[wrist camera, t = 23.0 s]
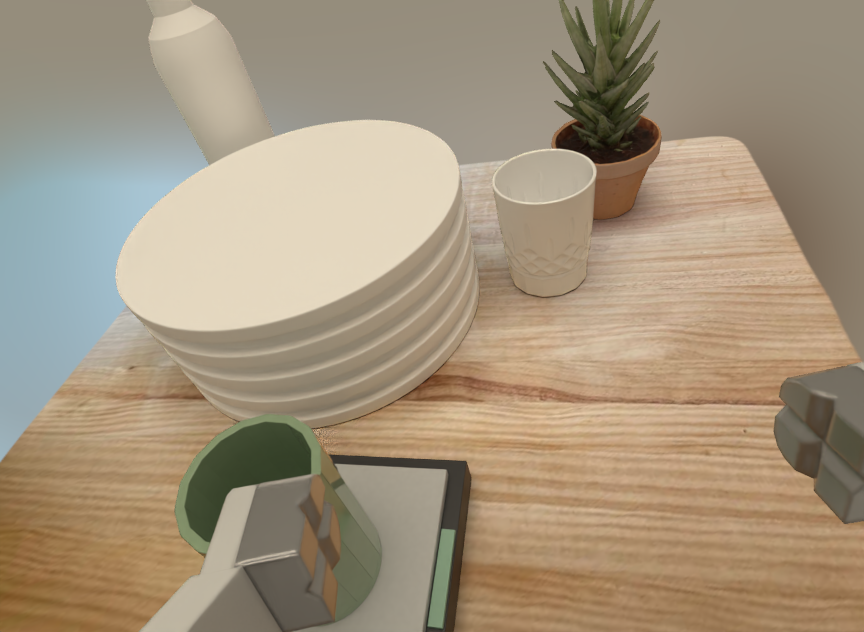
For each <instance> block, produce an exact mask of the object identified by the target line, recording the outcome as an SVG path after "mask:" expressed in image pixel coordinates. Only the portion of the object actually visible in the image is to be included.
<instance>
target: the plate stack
mask: <svg viewBox="0 0 864 632" xmlns="http://www.w3.org/2000/svg"><path fill="white" fill-rule="evenodd" d="M116 284H117V288H118V292H119V294H120V296H121V298H122V300H123V301H124V303H125V304H126V305H127V307H128V308H129V309H130V310H131V311H132V312H133V314H134V315H135V316H136V317H137V318H138V319H139V320H140V321H141V322H142V323H143V325H144V326H145V327H146V329H147V330H148V331H149V332H150V333H151V335H152V336H153V337H154V338H155V339H156V340H157V341H158V343H159V344H161V345H162V347H163V348H164V350H165V351H166V352H167V353H168V355H169V356H170V357H171V358H172V359H173V360H174V362H175V363H176V364H177V365H178V366H179V367H180V368H181V369H182V371H183V372H184V373H185V375H186V376H187V377H188V378H189V379H190V380H191V381H192V383H193V384H194V385H195V386H196V387H197V388H198V390H199V391H200V392H201V393H202V394H203V396H204V397H205V398H206V399H207V400H208V401H209V402H210V403H211V404H212V405H213V406H214V407H215V408H216V409H217V410H219V411H220V412H222V413H223V414H225V415H227V416H228V417H230V418H232V419H234V420H237V421H239V422H240V421H243V420H246V419H250V418H254V417H257V416H261V415H265V414H276V415H288V416H293V417H294V418H296V419H298V420H299V421H301V422H303V423H304V424H306V425H308V426H309V427H310V428H311V429H312V428H319V427H325V426H330V425H334V424H338V423H342V422H345V421H349V420H352V419H355V418H358V417H361V416H363V415H366V414H368V413H371V412H373V411H376V410H378V409H380V408H382V407H384V406H386V405H388V404H390V403H392V402H394V401H395V400H397V399H399V398H401V397H402V396H404V395H405V394H407V393H409V392H410V391H412V390H413V389H414V388H416V387H417V386H419V385H420V384H421V383H423V382H424V381H425V380H426V379H428V378H429V377H430V376H431V375H432V374H433V373H435V372H436V371H437V370H438V369H439V368H440V367H441V366H442V365H443V364H444V363H445V362H446V361H447V359H448V358H449V357H450V356H451V355H452V354H453V352H454V351H455V350H456V349H457V347H458V346H459V344H460V343H461V341H462V340H463V338H464V337H465V335H466V333H467V332H468V330H469V328H470V326H471V323H472V321H473V319H474V316H475V313H476V310H477V306H478V301H479V293H480V283H479V275H478V270H477V265H476V260H475V253H474V248H473V242H472V239H471V231H470V225H469V220H468V216H467V209H466V203H465V198H464V193H463V189H462V181H461V175H460V170H459V165H458V162H457V159H456V157H455V155H454V153H453V151H452V150H451V149H450V147H449V146H448V145H447V144H446V143H445V142H444V141H443V140H441V139H440V138H439V137H437V136H436V135H434V134H433V133H431V132H429V131H427V130H424V129H422V128H419V127H416V126H413V125H409V124H405V123H400V122H393V121H383V120H355V121H342V122H334V123H328V124H322V125H316V126H311V127H307V128H303V129H299V130H295V131H292V132H288V133H284V134H281V135H278V136H275V137H272V138H269V139H266V140H263V141H261V142H258V143H255V144H253V145H250V146H248V147H246V148H243V149H241V150H239V151H237V152H234V153H232V154H230V155H228V156H226V157H224V158H222V159H220V160H218V161H216V162H215V163H213V164H211V165H209V166H207V167H206V168H204V169H202V170H201V171H199V172H197V173H196V174H194V175H193V176H191V177H190V178H188V179H187V180H185V181H184V182H182V183H181V184H180V185H178V186H177V187H176V188H174V189H173V190H172V191H170V192H169V193H168V194H167V195H165V197H163V198H162V199H161V200H160V201H159V202H157V203H156V204H155V205H154V206H153V207H152V208H151V209H150V210H149V211H148V212H147V213H146V214H145V215H144V217H143V218H142V219H141V220H140V221H139V222H138V224H137V225H136V226H135V228H134V229H133V230H132V232H131V233H130V235H129V236H128V238H127V240H126V242H125V244H124V245H123V248H122V250H121V252H120V255H119V258H118V261H117V266H116Z"/></svg>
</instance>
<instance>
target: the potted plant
mask: <svg viewBox="0 0 864 632" xmlns="http://www.w3.org/2000/svg"><path fill="white" fill-rule="evenodd" d="M653 1H654V0H645V2H644V4H643V6H642V7H641V9H640V11H639V13H638V14H637V16H636V18H635V20H634V21H633V22H632V24H631V25H630V21H631V17H632V13H633V8H634V0H629V3H628V5H627V7H626V10H625V12H624V15H623V17H622V19H621V21H620V15H621V8H622V0H613V4H612V9H611V14H610V4H609V0H593V13H594V14H593V15H594V24H595V31H596V43H597V44H596V46H593V45H592V42H591V40H590V39H589V36H588V33H587V30H586V28H585V25H584V23H583V20H582V17H581V15H580V12H579V10H578V8H577V7H575V10H576V18H577V23H578V26H577V25H576V23H575V21H574V20H573V18H572V16H571V14H570V12H569V10H568V8H567V6H566V5H565V3H564V0H559V3H560V8H561V13H562V16H563V19H564V22H565V25H566V28H567V30H568V33H569V35H570V38H571V40H572V42H573V44H574V46H575V49H576V51H577V53H578V55H579V57H580V59H581V61H582V63H583V66H584V69H585V73H584V74H583V73H579V72H577V71H576V70H574V69H573V68H572V67H571V66H569V65H568V64H567V63H566V62H565V61H564V60H563V59H562V58H561V57H560V56H558V54H556V53H555V52H554V51H553V50H552V55H553V57H554V58H555V60H556V62H557V63H558V65H559V66H560V67H561V68H562V70H563V71H564V72H565V74H566V75H567V76H568V77H569V79H570V80H571V81H572V82H573V84H574V85H575V86H576V88H577V89H578V91H579V92H580V93H579V92H578V91H577V90H576V93H577V95H578V96H577V95H576V94H574V93H573V92H572V91H570V90H569V89H568V88H567V87H566V85H565V84H564V83H563V82H562V81H561V80H560V79H559V78H558V77H557V76H556V75H555V73H554V72H553V71H552V70H551V69H550V67H549V66H548V65H547V64H546V63H545V62H544V61H543V63H544V65H545V66H546V67H545V68H546V70H547V71H548V73H549V74H550V76H551V77H552V79H553V80H554V82H555V83H556V84H557V86H558V87H559V88H560V89H561V90H562V92H563V93H564V94H565V95H566V96H567V97H568V98H569V100H570V101H571V102H572V103H573V107H569V106H567V105H564V104H562V103H559V102H558V101H554V102H555V103H556V104H557V105H558V106H559V107H560V108H562V109H563V110H564V111H565V112H566V113H568V114H569V115H570V116H572V117H573V118H575V119H574V120H572V121H570V122H568V123H566V124H564V125H563V126H562V127H561V128H560V129H559V130H557V131H556V132H555V134H554V136H553V138H552V143H551V145H552V149H565V150H571V151H575V152H578V153H581V154H583V155H585V156H587V157H588V158H589V159H591V160H592V162H593V163H594V164H595V166H596V171H597V173H596V186H595V198H594V213H593V219H609V218H614V217H619V216H620V215H622V214H624V213H625V212H627V211H629V210H630V209H631V208H632V207H633V205H634V201H635V198H636V195H637V192H638V190H639V188H640V185H641V183H642V180H643V178H644V176H645V174H646V171H647V169H648V167H649V165H650V164H651V163H652V162H653V161H654V160H655V159H656V157H657V156H658V154H659V150H660V144H661V138H662V137H661V131H660V128H659V127H658V126H657V124H656V123H655V122H653V121H652V120H650V119H648V118H646V117H644V116H642V115H640V114H641V113H642V112H643V110H644V109H645V108H646V106H647V105H648V102H646V103H645V104H644V105H642V106H641V107H640V108H639V109H638V110H637V111H635V110H636V109H637V108H638V107H639V106H640V105H641V104H642V102H644V101H645V100H646V99H647V97H648V96H649V93H647V94H645V95H644V96H643V97H641V98H640V99H638V100H637V101H636V102H635V103H634V104H633V105H631V106H629V107H628V108H626V109H624V107H625V106H626V104H627V103H628V101H629V100H630V99H631V98H632V97H633V96H634V95H635V93H637V91H638V90H639V89H640V87H641V86H642V85H643V83H644V82H645V81H646V80H647V78H648V77H649V75H650V74H651V72H652V71H653V69H654V63H652V61H653V60H654V58H655V56H656V54H657V52H658V51H656V52H655V53H654V54H653V55H652V57H651V58H650V60H649V61H648V62H647V63H646V64H645V63H643V64H642V65H641V66H640V67H639V68H638V69H637V70H636V71H635V72H634V73H633V74H632V75H631V73H632V72H633V70H634V69H635V67H636V66H637V64H638V62H639V61H640V59H641V58H642V56H643V55H644V53H645V51H646V50H647V48H648V46H649V44H650V43H651V41H652V39H653V37H654V35H655V33H656V31H657V29H658V26H659V22H660V20H659V21H658V22H657V23H656V25H655V26H654V27H653V29H652V30H651V31H650V33H649V34H648V36H647V37H646V38H645V40H644V41H643V42H642V43H641V44H640V46H639V47H638V48H637V49H636V50H635V51H634V52H633V53H632V54H631V56H630V57H629V58H626V59H625V57H626V56H627V54H628V52H629V50H630V48H631V46H632V44H633V42H634V40H635V38H636V36H637V34H638V32H639V30H640V28H641V26H642V24H643V22H644V20H645V18H646V16H647V14H648V11H649V10H650V8H651V5H652V3H653ZM629 25H630V26H629ZM651 63H652V64H651ZM650 64H651V65H650ZM630 75H631V76H630ZM629 76H630V77H629ZM634 111H635V112H634Z"/></svg>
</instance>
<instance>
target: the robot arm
mask: <svg viewBox="0 0 864 632" xmlns="http://www.w3.org/2000/svg"><path fill="white" fill-rule="evenodd" d="M779 397H780V398H781V400H782V401H783V402H784V403H785V404H786V405H785V406H784V408H783V409H782V410H781V411H780V412H779V413H778V414H777V415H776V416H775V423H774V435H775V439H776V442H777V446H778V448H779V450H780V451H781V453H782V455H783V456H784V458H785V459H786V461H787V462H788V463H789V464H790V465H791V466H792V467H793V468H794V470H796V471H798V472H800V473H803V474H805V475H807V476H809V477H811V478H814V492H815V493H816V494H817V495H818V496H819V497H820V498H821V499H822V500H823V501H824V502H825V503H826V504H827V506H828V507H829V508H830V509H831V510H832V511H833V512H834V513H835V514H836V515H837V516H838V517H839V519H840V520H841V521H842V522H843V523H844V524H848V523H854V522H860V521H864V362H860V363H855V364H850V365H847V366H842V367H837V368H832V369H827V370H823V371H818V372H813V373H808V374H804V375H799V376H794V377H790V378H787V379H786V380H785V381H784V382H783V384H782V385H781V389H780V394H779ZM324 496H325V486H324V484H323V481H322V479H321V477H320V475H318V474H310V475H304V476H298V477H293V478H287V479H281V480H276V481H270V482H264V483H260V484H257V485H251V486H245V487H239V488H233V489H232V490H231V491H230V492H229V493H228V495H227V496H226V498H225V501H224V504H223V507H222V510H221V513H220V516H219V519H218V522H217V525H216V528H215V531H214V533H213V536H212V539H211V542H210V545H209V548H208V551H207V554H206V557H205V560H204V563H203V566H202V568H201V571H200V574H199V575H195V576H191V577H190V578H189V579H188V580H187V581H186V582H185V583H184V584H183V585H182V586H181V587H180V588H179V589H178V590H177V591H176V593H175V594H174V595H173V596H172V597H171V598H170V599H169V600H168V601H167V602H166V603H165V604H164V605H163V606H162V607H161V609H160V610H159V611H158V612H157V613H156V614H155V615H154V616H153V617H152V618H151V619H150V620H149V621H148V622H147V623H146V625H145V626H144V627H143V628H142V629H141V630H140V631H139V632H293V631H297V630H302V629H306V628H311V627H315V626H320V625H324V624H329V623H333V622H335V612H336V601H337V590H338V582H337V580H336V578H335V576H334V574H333V571H332V570H333V569H334V567H335V566H336V564H337V563H338V562H339V560H340V555H341V534H340V525H339V521H338V517H337V514H336V511H335V509H334V506H333V505H332V504H331V503H329V502H327V501H325V500H324Z"/></svg>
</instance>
